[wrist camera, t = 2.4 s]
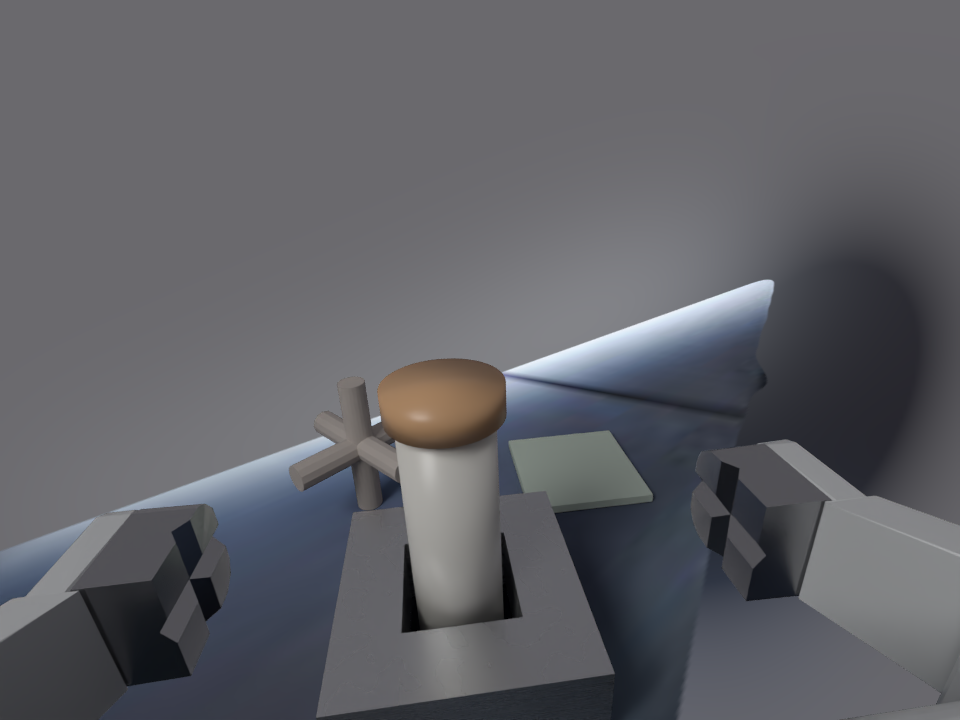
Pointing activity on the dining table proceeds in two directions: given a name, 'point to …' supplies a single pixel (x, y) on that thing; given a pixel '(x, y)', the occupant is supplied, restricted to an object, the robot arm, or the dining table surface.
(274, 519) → the dining table surface
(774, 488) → the robot arm
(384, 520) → the housing block
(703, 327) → the dining table surface
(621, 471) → the rubber mat
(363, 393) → the pipe connector
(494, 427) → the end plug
